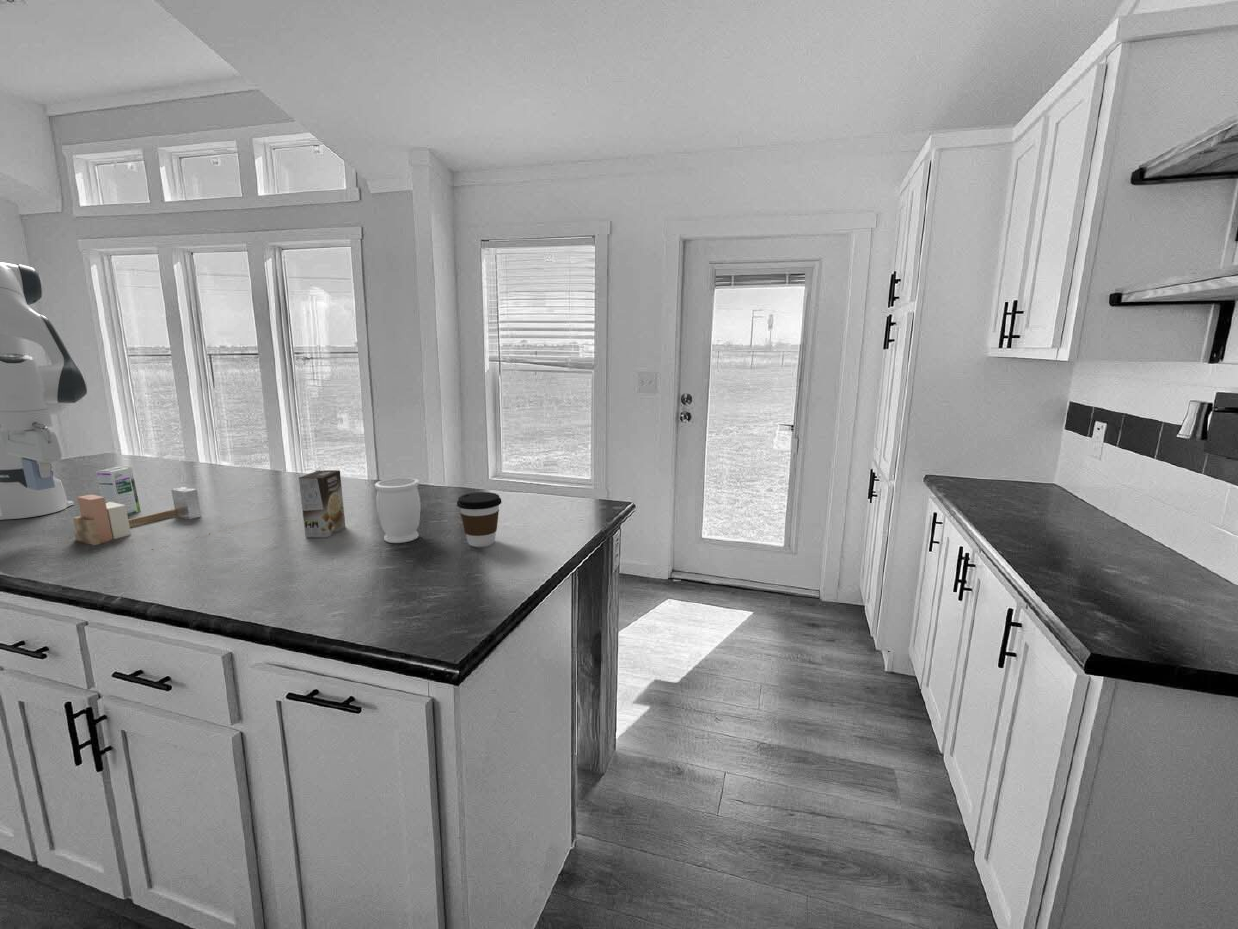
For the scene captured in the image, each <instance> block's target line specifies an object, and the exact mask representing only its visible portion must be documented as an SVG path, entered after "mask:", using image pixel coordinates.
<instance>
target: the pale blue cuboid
mask: <svg viewBox="0 0 1238 929" xmlns="http://www.w3.org/2000/svg"><path fill="white" fill-rule="evenodd" d="M21 461H22V466H23V470H24V474H25V479H26V483H27V488H30V489H34V490H43V489H48V488H54V487H55V484H54V480H53V477H54V474H53V475H52V471H51V467H50V474H51V476H50V477H46V478H42V477H39V474H38V470H39V465H38V464H37V461H35V460H31V459H27V458H23V459H21Z"/></svg>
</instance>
